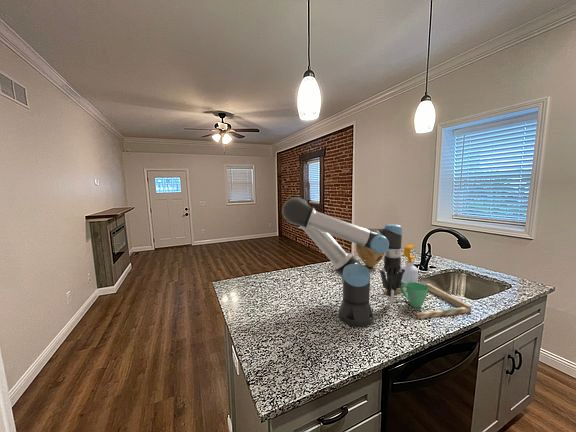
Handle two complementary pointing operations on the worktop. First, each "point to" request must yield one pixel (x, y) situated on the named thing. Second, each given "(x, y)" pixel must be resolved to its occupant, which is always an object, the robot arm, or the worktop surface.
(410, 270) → the soap bottle
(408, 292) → the mug
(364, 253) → the bowl
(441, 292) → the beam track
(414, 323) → the worktop surface
